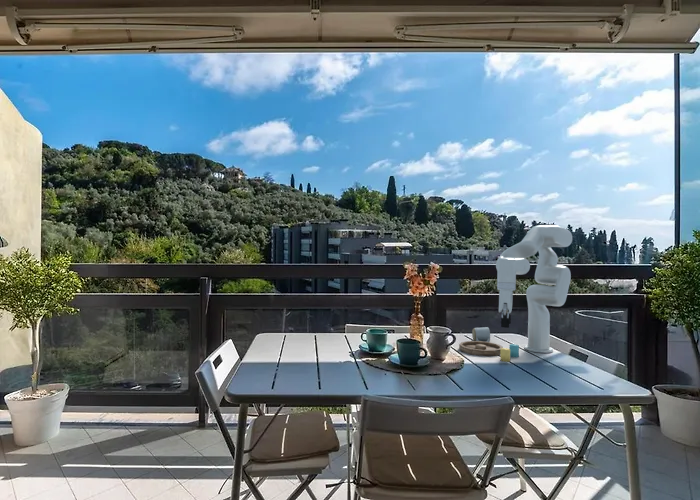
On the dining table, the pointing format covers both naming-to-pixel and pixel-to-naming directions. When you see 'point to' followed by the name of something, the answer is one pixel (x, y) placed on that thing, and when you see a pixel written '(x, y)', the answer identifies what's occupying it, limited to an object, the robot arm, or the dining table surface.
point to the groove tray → (480, 348)
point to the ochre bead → (505, 354)
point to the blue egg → (514, 350)
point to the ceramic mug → (481, 334)
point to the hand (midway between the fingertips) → (505, 325)
